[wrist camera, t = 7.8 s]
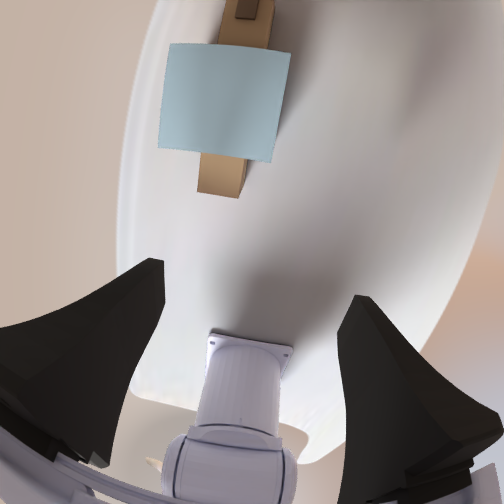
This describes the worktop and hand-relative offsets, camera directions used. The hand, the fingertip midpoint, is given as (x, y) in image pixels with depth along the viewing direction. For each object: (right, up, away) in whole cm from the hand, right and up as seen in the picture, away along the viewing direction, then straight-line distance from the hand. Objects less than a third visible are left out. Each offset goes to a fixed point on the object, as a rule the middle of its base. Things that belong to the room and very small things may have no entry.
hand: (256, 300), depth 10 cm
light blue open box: (-1, +11, +5) cm, 12 cm away
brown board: (-1, +11, +5) cm, 12 cm away
